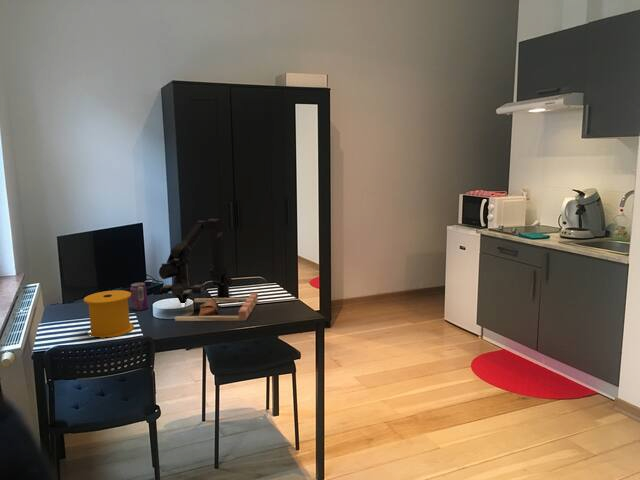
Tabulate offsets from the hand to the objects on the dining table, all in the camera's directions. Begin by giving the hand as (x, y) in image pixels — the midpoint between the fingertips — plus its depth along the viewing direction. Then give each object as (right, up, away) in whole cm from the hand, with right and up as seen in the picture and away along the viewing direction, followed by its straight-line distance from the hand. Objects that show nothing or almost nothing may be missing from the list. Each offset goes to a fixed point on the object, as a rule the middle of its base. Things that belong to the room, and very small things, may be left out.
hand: (183, 307), depth 241 cm
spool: (-24, -7, -25) cm, 35 cm away
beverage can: (-22, -2, +5) cm, 22 cm away
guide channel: (+16, -1, -1) cm, 16 cm away
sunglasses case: (+12, -2, -1) cm, 12 cm away
